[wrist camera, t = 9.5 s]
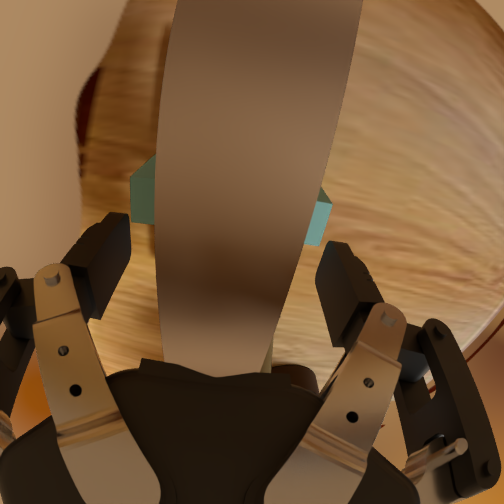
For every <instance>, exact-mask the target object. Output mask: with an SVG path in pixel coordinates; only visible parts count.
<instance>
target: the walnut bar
mask: <svg viewBox="0 0 504 504" xmlns="http://www.w3.org/2000/svg"><path fill="white" fill-rule="evenodd" d="M362 2H363V0H178V1H177V5H176V9H175V14H174V18H173V23H172V28H171V33H170V39H169V44H168V50H167V56H166V62H165V69H164V76H163V83H162V91H161V100H160V110H159V120H158V132H157V146H156V165H155V199H154V228H155V263H156V282H157V296H158V309H159V320H160V330H161V339H162V347H163V355H164V362H167V363H174V364H179V365H181V366H184V367H187V368H189V369H192V370H195V371H198V372H201V373H203V374H206V375H209V376H213V377H224V376H231V375H239V374H245V373H252V372H260V370H261V367H262V365H263V362H264V359H265V357H266V354H267V351H268V348H269V346H270V343H271V340H272V337H273V335H274V332H275V329H276V326H277V323H278V320H279V318H280V315H281V312H282V309H283V306H284V303H285V300H286V297H287V294H288V291H289V288H290V285H291V282H292V279H293V276H294V273H295V270H296V267H297V264H298V261H299V257H300V254H301V251H302V248H303V245H304V241H305V238H306V235H307V232H308V228H309V225H310V222H311V218H312V215H313V212H314V208H315V205H316V201H317V198H318V194H319V191H320V187H321V184H322V180H323V176H324V173H325V169H326V165H327V162H328V158H329V154H330V150H331V147H332V143H333V139H334V135H335V131H336V127H337V123H338V119H339V115H340V110H341V106H342V102H343V98H344V93H345V89H346V84H347V80H348V75H349V71H350V66H351V61H352V56H353V51H354V46H355V41H356V36H357V31H358V25H359V20H360V14H361V8H362Z"/></svg>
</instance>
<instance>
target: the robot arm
mask: <svg viewBox="0 0 504 504" xmlns="http://www.w3.org/2000/svg"><path fill="white" fill-rule="evenodd" d="M130 256H131V237H130V222H129V216H128V214H126V213H116V212H109V213H108V214H107V216H106V217H105V218H104V219H103V220H102V221H101V223H96V224H94V225H93V226H91V227H89V228H88V229H87V230H86V231H85V232H84V233H83V234H82V236H81V238H79V239H78V240H77V242H76V244H74V245H73V247H72V248H71V249H70V250H69V252H68V253H67V254H66V256H65V257H64V258H63V259H62V261H61V262H60V263H53V264H50V265H47V266H45V267H43V268H42V269H40V270H39V271H38V272H37V274H36V275H35V277H34V278H30V279H18V277H17V274H16V271H15V270H14V269H13V268H12V267H2V268H0V324H1V323H2V321H3V322H4V324H5V326H6V328H7V329H6V331H5V332H4V335H3V337H2V338H1V341H0V493H1V497H2V500H3V504H453V503H456V502H459V501H461V500H464V499H467V498H469V497H472V496H474V495H476V494H479V493H481V492H483V491H485V490H488V489H490V488H492V487H493V486H494V485H495V484H496V483H497V481H498V479H499V477H500V473H501V461H500V457H499V453H498V449H497V446H496V442H495V438H494V435H493V432H492V428H491V425H490V422H489V419H488V416H487V413H486V411H485V408H484V405H483V402H482V399H481V397H480V394H479V392H478V389H477V387H476V384H475V382H474V379H473V377H472V375H471V372H470V370H469V368H468V366H467V363H466V361H465V359H464V357H463V355H462V352H461V350H460V348H459V346H458V344H457V342H456V340H455V338H454V336H453V334H452V332H451V330H450V329H449V328H448V327H447V325H445V324H444V323H443V322H441V321H440V320H437V319H433V318H431V319H428V320H427V321H426V322H425V323H424V325H423V326H422V328H421V327H418V326H415V325H412V324H408V323H407V321H406V318H405V316H404V315H403V313H402V312H401V311H400V310H399V309H398V308H396V307H395V306H393V305H391V304H388V303H385V302H384V300H383V298H382V296H381V294H380V292H379V290H378V288H377V286H376V284H375V282H373V279H372V277H371V275H369V271H368V269H367V267H366V266H365V264H364V263H363V262H362V261H361V260H360V259H359V258H358V257H357V256H354V255H353V253H352V251H351V249H350V247H349V245H348V244H347V243H343V242H336V241H329V242H328V243H327V244H326V247H325V250H324V252H323V255H322V258H321V261H320V263H319V266H318V269H317V272H316V277H315V284H316V288H317V292H318V295H319V299H320V302H321V306H322V309H323V313H324V316H325V320H326V323H327V327H328V331H329V334H330V338H331V342H332V345H333V347H344V348H345V353H344V354H343V355H342V357H341V359H340V361H339V362H338V364H337V366H336V367H335V369H334V371H333V373H332V374H331V376H330V378H329V379H328V381H327V382H326V384H325V386H324V387H323V389H322V390H321V392H320V393H319V395H318V396H317V395H315V394H314V393H312V392H311V391H308V390H306V389H304V388H302V387H299V386H296V385H293V384H291V378H290V374H284V373H261V372H252V373H245V374H239V375H231V376H224V377H213V376H209V375H206V374H203V373H201V372H198V371H195V370H192V369H189V368H187V367H184V366H181V365H179V364H174V363H167V362H161V361H156V360H150V359H145V358H142V359H141V363H140V367H139V368H134V369H127V370H123V371H119V372H116V373H113V374H111V375H109V376H107V374H106V372H105V370H104V368H103V365H102V363H101V360H100V358H99V355H98V353H97V350H96V347H95V345H94V342H93V339H92V336H91V334H90V331H89V328H88V325H87V323H88V321H89V319H90V318H94V319H98V320H101V318H102V316H103V314H104V311H105V309H106V307H107V305H108V303H109V301H110V299H111V296H112V294H113V292H114V290H115V288H116V286H117V284H118V282H119V280H120V278H121V276H122V274H123V272H124V270H125V268H126V266H127V265H128V263H129V260H130ZM35 347H36V353H37V358H38V363H39V367H40V373H41V377H42V381H43V385H44V389H45V393H46V396H47V400H48V404H49V407H50V411H51V414H52V415H51V416H49V417H48V418H46V419H45V420H43V421H42V422H41V423H39V424H38V425H36V426H35V427H33V428H32V429H30V430H29V431H28V432H26V433H25V434H23V435H22V436H20V437H19V438H17V439H16V438H15V434H14V433H13V432H12V424H11V421H10V415H11V412H12V409H13V405H14V402H15V399H16V396H17V393H18V390H19V387H20V384H21V381H22V379H23V376H24V373H25V371H26V368H27V365H28V363H29V361H30V358H31V356H32V353H33V351H34V349H35ZM429 369H430V371H431V373H432V376H433V379H434V381H435V384H436V393H435V396H434V397H433V398H432V399H431V398H430V394H429V391H428V388H427V385H426V383H425V380H424V377H423V376H424V375H425V374H426V373H427V372H428V371H429ZM393 394H394V398H395V402H396V405H397V409H398V413H399V417H400V421H401V426H402V430H403V435H404V439H405V444H406V449H407V454H408V459H407V461H406V465H405V468H404V469H402V471H400V470H398V469H397V468H396V467H395V466H394V465H393V464H391V463H390V462H389V461H388V460H387V459H386V458H385V457H383V456H382V455H381V454H380V453H379V452H378V451H377V450H376V449H375V448H374V447H372V445H373V443H374V441H375V439H376V436H377V434H378V432H379V429H380V427H381V424H382V422H383V420H384V417H385V414H386V412H387V409H388V407H389V404H390V401H391V398H392V395H393Z"/></svg>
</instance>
